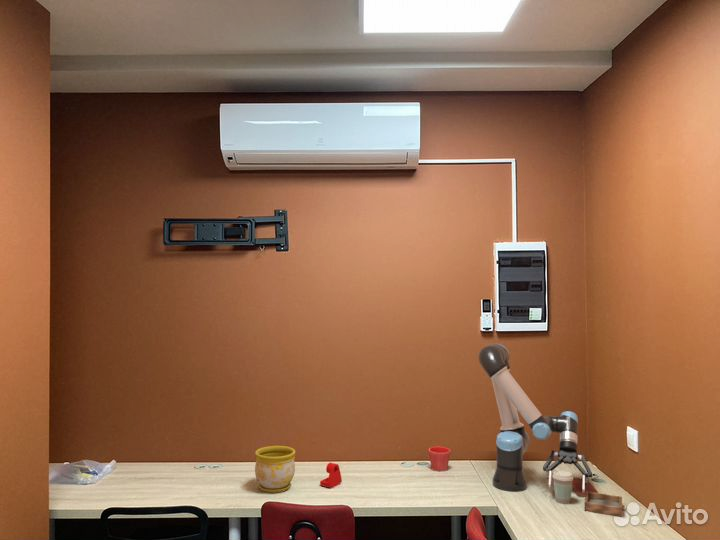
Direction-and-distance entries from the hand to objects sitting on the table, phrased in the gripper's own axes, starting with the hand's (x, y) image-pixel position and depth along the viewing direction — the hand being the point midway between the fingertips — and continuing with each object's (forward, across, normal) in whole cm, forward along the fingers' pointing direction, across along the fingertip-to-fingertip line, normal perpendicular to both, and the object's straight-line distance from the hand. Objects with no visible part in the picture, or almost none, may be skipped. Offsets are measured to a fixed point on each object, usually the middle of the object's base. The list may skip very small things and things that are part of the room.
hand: (566, 488), depth 235 cm
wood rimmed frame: (+4, -14, -4) cm, 16 cm away
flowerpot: (+32, +121, +26) cm, 128 cm away
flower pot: (-9, +61, -17) cm, 64 cm away
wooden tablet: (-11, -6, -20) cm, 24 cm away
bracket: (+22, +100, +15) cm, 104 cm away
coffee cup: (+4, +2, -4) cm, 6 cm away
